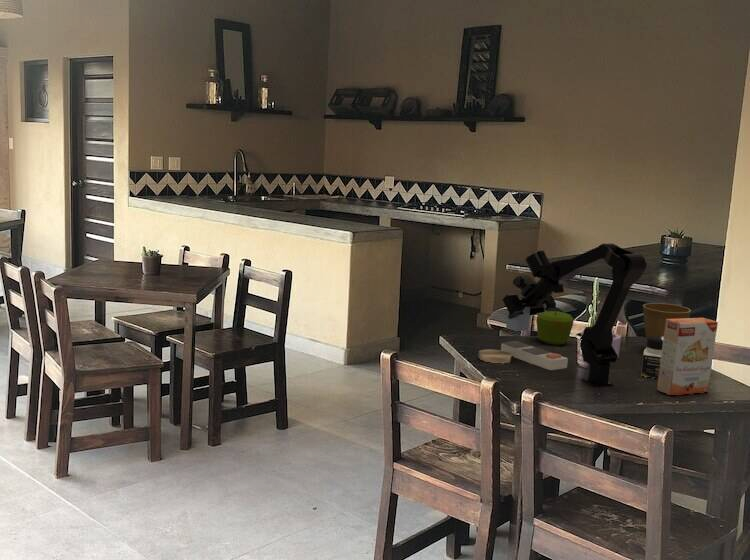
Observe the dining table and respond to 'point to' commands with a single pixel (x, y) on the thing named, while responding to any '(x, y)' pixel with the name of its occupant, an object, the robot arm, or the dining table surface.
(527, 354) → the power strip
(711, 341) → the cracker box
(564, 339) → the apple
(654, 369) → the medicine bottle
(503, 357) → the trivet
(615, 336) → the clip
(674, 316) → the plant pot
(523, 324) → the grey cylinder
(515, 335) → the dining table surface
